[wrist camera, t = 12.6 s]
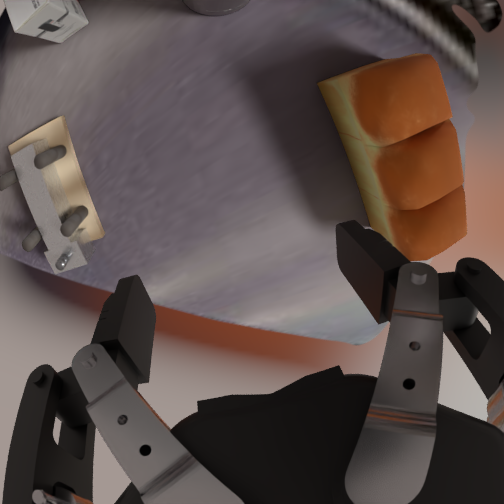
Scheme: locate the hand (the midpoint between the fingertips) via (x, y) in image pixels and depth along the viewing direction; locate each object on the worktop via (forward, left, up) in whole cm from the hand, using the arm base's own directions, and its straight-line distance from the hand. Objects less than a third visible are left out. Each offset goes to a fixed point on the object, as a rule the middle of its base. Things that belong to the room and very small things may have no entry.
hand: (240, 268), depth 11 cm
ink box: (-26, -15, -28) cm, 41 cm away
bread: (+4, +24, -28) cm, 37 cm away
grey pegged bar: (0, -23, -27) cm, 35 cm away
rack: (-2, -23, -28) cm, 36 cm away
